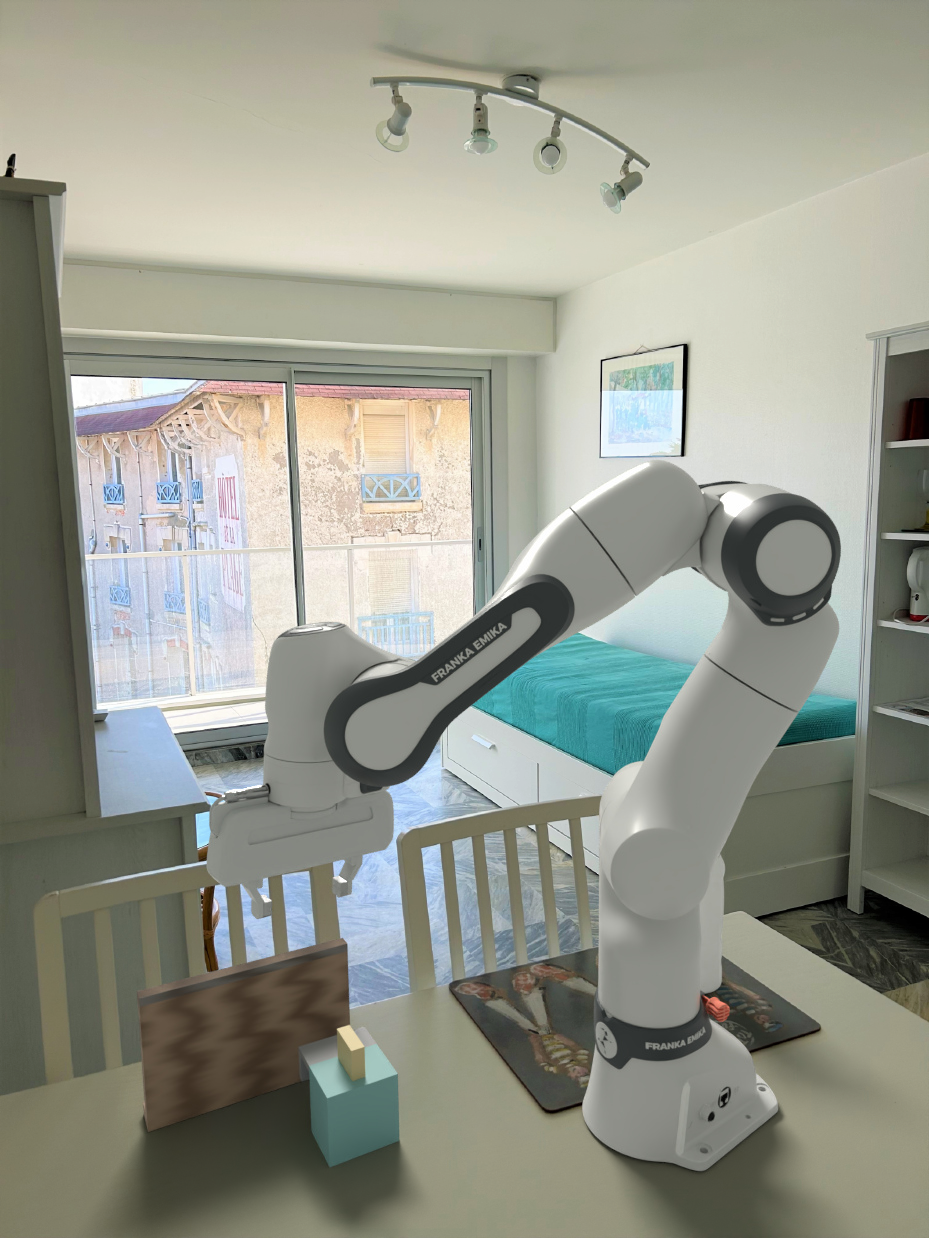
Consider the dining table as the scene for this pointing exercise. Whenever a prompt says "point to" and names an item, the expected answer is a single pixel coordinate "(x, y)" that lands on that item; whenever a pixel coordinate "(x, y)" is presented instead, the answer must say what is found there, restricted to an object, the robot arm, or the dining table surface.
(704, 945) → the water bottle
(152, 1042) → the wall board
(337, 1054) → the key box
